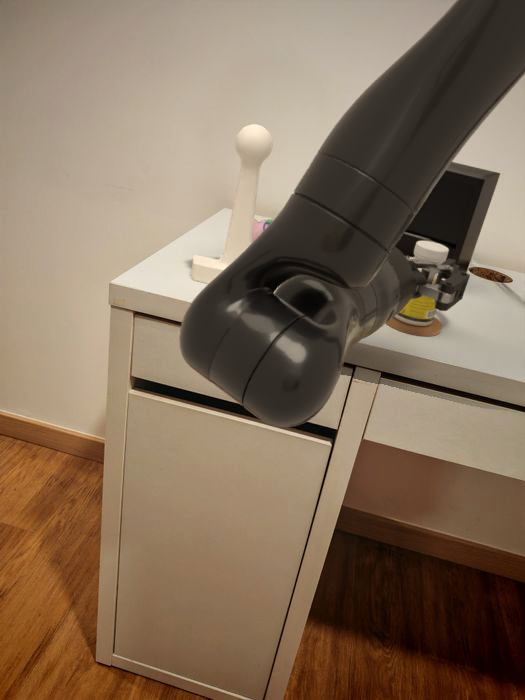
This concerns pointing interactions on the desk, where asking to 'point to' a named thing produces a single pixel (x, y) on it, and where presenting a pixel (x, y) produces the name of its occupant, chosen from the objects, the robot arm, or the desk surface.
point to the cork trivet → (417, 327)
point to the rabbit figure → (259, 228)
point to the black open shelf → (453, 213)
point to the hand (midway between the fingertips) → (411, 256)
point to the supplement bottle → (423, 307)
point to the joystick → (239, 203)
